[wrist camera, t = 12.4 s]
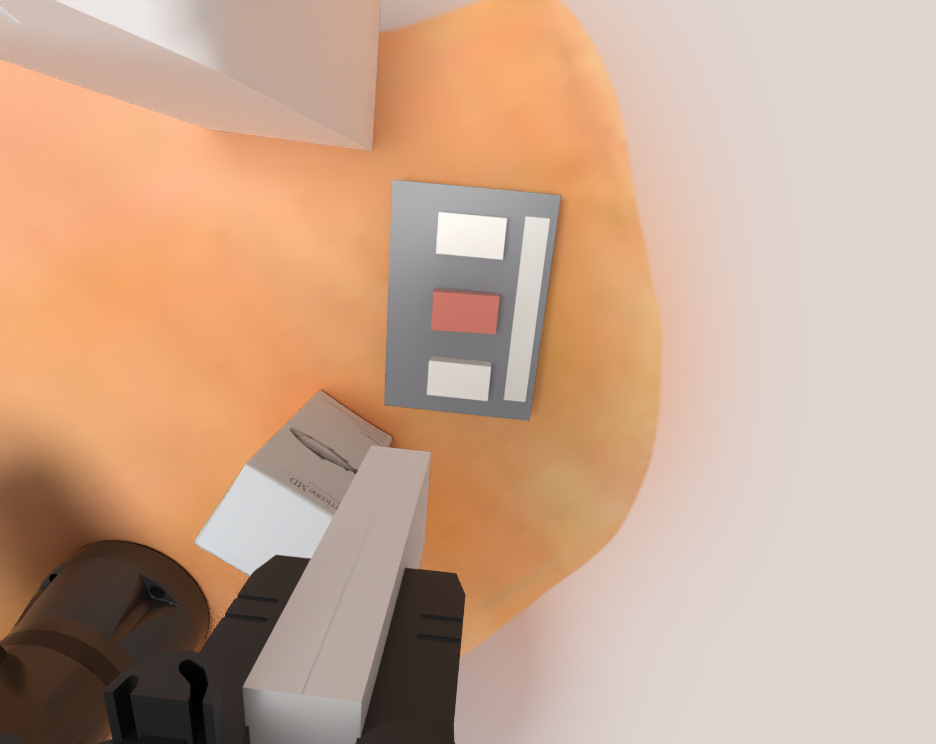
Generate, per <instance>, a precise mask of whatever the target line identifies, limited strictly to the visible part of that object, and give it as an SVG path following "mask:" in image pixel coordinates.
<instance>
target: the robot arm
mask: <svg viewBox="0 0 936 744" xmlns="http://www.w3.org/2000/svg"><path fill="white" fill-rule="evenodd" d="M430 460H431V452H427V451H418V450H408V449H399V448H390V447H381V446H371V447H370V449H369V451H368V453H367V454H366V456H365V458H364V460H363V462H362V464H361V466H360V468H359V469H358V471H357V473H356V475H355V477H354V479H353V481H352V483H351V485H350V486H349V488H348V490H347V492H346V494H345V496H344V498H343V500H342V501H341V503H340V505H339V507H338V509H337V511H336V513H335V515H334V516H333V518H332V520H331V522H330V524H329V526H328V528H327V530H326V531H325V533H324V535H323V537H322V539H321V541H320V543H319V545H318V546H317V548H316V550H315V552H314V554H313V556H312V558H311V559H310V558H301V557H292V556H284V555H275V556H273V557H272V558H271V559H269V560H268V561H267V562H266V563H264V564H263V565H262V566H260V567H259V568H258V569H256V570H255V571H254V572H253V573H252V574H251V576H250V577H249V579H248V580H247V582H246V583H245V585H244V586H243V588H242V589H241V591H240V592H239V594H238V597H237V599H234V601H233V602H232V604H231V605H230V607H229V608H228V610H227V611H226V613H225V617H224V618H222V619H221V620H220V622H219V623H218V625H217V626H216V628H215V629H214V631H213V632H212V634H211V635H210V637H209V638H208V640H207V641H206V643H205V644H204V646H203V647H202V649H201V650H200V652H199V653H198V652H196V651H197V650H198V648H199V647H200V646H201V644H202V642H203V641H204V639H205V637H206V634H207V631H208V626H209V614H208V609H207V605H206V602H205V599H204V597H203V595H202V593H201V591H200V589H199V588H198V586H197V585H196V583H195V582H194V581H193V580H192V578H191V577H190V576H189V575H188V574H187V573H186V572H185V571H184V570H183V569H182V568H181V567H179V566H178V565H177V564H176V563H174V562H173V561H172V560H170V559H169V558H167V557H165V556H164V555H162V554H160V553H158V552H156V551H154V550H152V549H149V548H146V547H144V546H141V545H137V544H133V543H128V542H120V541H104V542H97V543H93V544H89V545H86V546H84V547H82V548H80V549H78V550H76V551H75V552H74V553H72V554H71V555H70V556H69V557H67V558H66V559H65V560H64V561H62V562H61V563H60V564H59V565H58V566H56V567H55V568H54V569H53V570H52V571H51V572H50V573H49V574H48V576H47V577H46V578H45V580H44V581H43V583H42V584H41V586H40V588H39V590H38V592H37V593H36V594H35V595H34V597H33V598H32V600H31V601H30V603H29V604H28V606H27V607H26V609H25V610H24V612H23V613H22V615H21V616H20V618H19V619H18V621H17V622H16V624H15V626H14V627H13V629H12V630H11V632H10V633H9V634H8V635H7V636H6V637H5V638H4V639H3V640H2V641H1V642H0V744H455V742H454V715H455V704H456V693H457V682H458V671H459V659H460V648H461V637H462V626H463V615H464V604H465V593H464V591H463V588H462V586H461V583H460V581H459V579H458V576H457V574H456V573H447V572H439V571H430V570H421V569H419V566H420V562H421V557H422V553H423V548H424V544H425V530H426V516H427V502H428V488H429V474H430ZM111 737H112V739H111Z"/></svg>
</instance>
